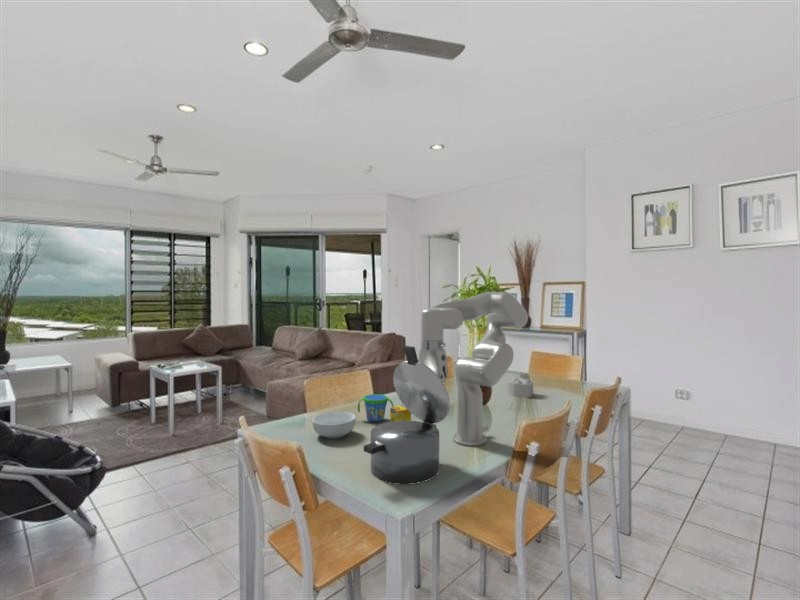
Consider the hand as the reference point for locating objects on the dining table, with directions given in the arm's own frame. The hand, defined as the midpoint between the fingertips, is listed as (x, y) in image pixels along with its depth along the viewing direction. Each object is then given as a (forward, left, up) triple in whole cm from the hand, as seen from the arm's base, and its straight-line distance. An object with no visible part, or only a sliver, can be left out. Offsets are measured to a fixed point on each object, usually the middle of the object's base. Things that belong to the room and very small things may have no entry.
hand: (432, 397), depth 144 cm
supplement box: (-7, -22, -21) cm, 31 cm away
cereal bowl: (+11, -41, -21) cm, 47 cm away
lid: (+8, 0, +5) cm, 9 cm away
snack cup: (-13, -43, -21) cm, 49 cm away
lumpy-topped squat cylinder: (-96, -18, -21) cm, 100 cm away
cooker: (+15, 0, -20) cm, 25 cm away
